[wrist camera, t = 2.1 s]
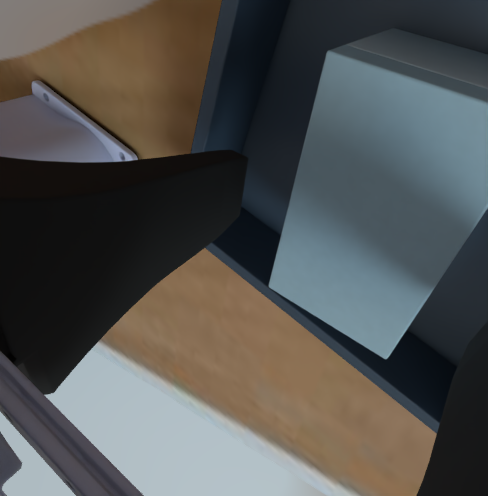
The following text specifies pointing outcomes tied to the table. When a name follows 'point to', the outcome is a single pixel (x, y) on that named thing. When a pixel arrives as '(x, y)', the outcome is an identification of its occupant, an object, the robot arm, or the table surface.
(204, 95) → the storage box
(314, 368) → the table surface
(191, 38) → the table surface
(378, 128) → the light blue case
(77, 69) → the table surface
